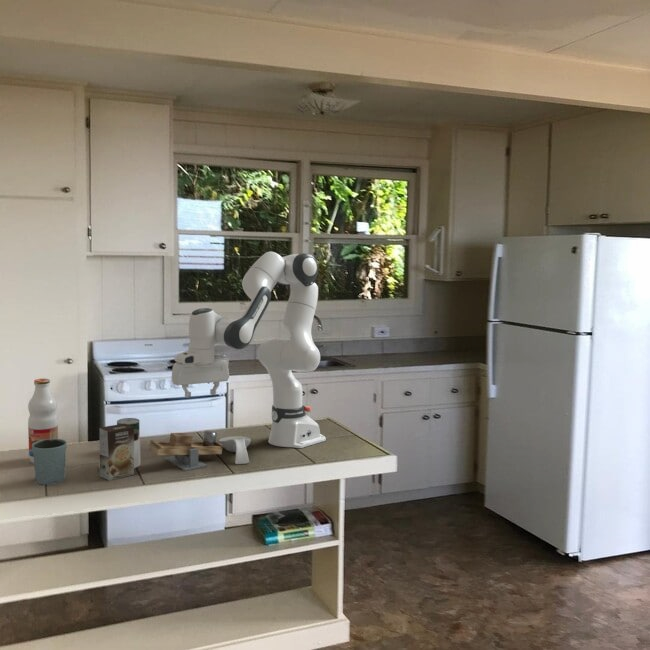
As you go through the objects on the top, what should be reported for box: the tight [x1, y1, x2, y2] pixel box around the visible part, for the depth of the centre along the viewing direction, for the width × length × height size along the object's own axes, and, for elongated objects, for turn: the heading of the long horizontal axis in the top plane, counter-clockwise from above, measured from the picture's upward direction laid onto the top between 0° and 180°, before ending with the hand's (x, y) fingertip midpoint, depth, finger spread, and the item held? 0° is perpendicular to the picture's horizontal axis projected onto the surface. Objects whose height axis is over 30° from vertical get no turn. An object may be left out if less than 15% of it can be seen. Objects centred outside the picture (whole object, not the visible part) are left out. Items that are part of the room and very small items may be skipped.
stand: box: [166, 448, 207, 472], centre depth 243 cm, size 8×14×6 cm, turn 37°
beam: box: [148, 439, 223, 456], centre depth 243 cm, size 24×9×3 cm, turn 127°
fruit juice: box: [27, 378, 59, 464], centre depth 241 cm, size 9×9×28 cm
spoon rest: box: [218, 435, 252, 465], centre depth 255 cm, size 24×12×7 cm, turn 16°
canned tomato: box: [116, 417, 141, 440], centre depth 255 cm, size 8×8×11 cm
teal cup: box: [32, 438, 67, 486], centre depth 223 cm, size 10×10×12 cm
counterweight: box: [202, 430, 218, 446], centre depth 248 cm, size 4×4×5 cm
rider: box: [168, 432, 194, 447], centre depth 241 cm, size 6×5×4 cm
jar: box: [134, 429, 141, 469], centre depth 238 cm, size 9×8×12 cm
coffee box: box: [99, 424, 135, 481], centre depth 229 cm, size 9×6×16 cm
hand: (200, 395), depth 244 cm, fingers open, 8 cm apart
